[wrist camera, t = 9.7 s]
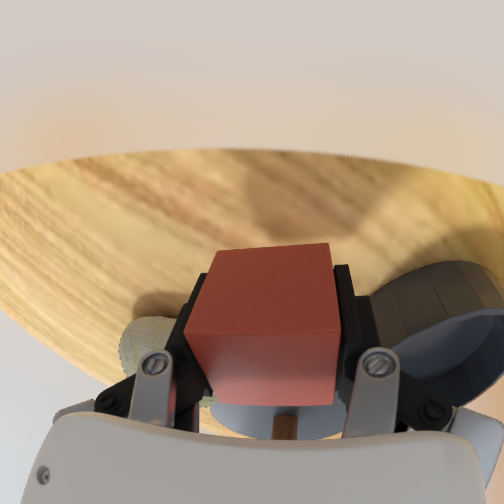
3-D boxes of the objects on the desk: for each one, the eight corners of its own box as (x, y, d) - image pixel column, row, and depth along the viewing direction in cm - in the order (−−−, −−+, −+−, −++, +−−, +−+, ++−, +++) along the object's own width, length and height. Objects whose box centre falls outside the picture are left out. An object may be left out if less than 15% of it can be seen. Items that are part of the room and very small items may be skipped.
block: (238, 325, 14) (220, 404, 10) (216, 249, 12) (182, 332, 8) (329, 322, 13) (333, 405, 9) (328, 241, 11) (341, 329, 7)
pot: (301, 370, 22) (299, 418, 18) (417, 224, 14) (451, 274, 10) (421, 394, 23) (428, 430, 19) (523, 296, 15) (546, 333, 11)
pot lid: (198, 415, 30) (186, 463, 24) (238, 352, 21) (223, 428, 16) (312, 440, 31) (310, 484, 26) (391, 389, 23) (400, 450, 17)
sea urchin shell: (191, 405, 24) (122, 429, 17) (164, 330, 27) (93, 337, 20) (267, 386, 20) (195, 423, 13) (231, 294, 23) (150, 294, 16)
